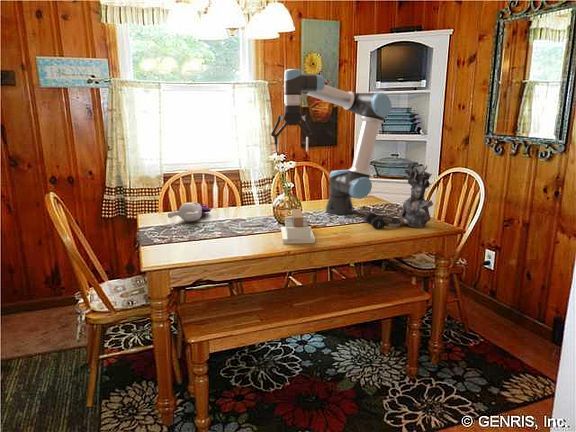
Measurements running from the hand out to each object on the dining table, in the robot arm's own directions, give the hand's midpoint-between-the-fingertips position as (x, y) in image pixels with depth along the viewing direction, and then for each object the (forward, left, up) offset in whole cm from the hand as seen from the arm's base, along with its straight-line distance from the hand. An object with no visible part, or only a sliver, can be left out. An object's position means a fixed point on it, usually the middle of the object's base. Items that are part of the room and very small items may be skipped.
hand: (292, 151), depth 207 cm
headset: (+1, +44, -37) cm, 58 cm away
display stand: (+17, +1, -37) cm, 40 cm away
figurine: (-15, -50, -37) cm, 64 cm away
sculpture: (+2, +61, -37) cm, 71 cm away
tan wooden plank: (+17, +1, -30) cm, 35 cm away
